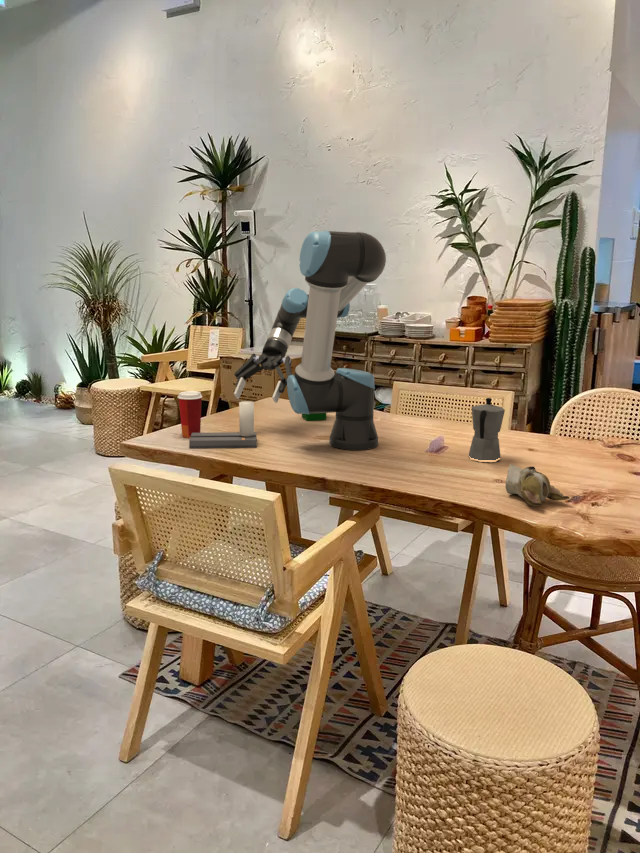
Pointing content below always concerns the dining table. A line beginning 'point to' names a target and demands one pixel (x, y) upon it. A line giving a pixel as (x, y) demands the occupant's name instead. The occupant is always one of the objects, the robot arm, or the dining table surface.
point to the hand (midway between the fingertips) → (255, 398)
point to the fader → (246, 418)
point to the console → (222, 440)
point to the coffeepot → (486, 431)
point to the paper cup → (190, 412)
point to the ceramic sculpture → (531, 485)
